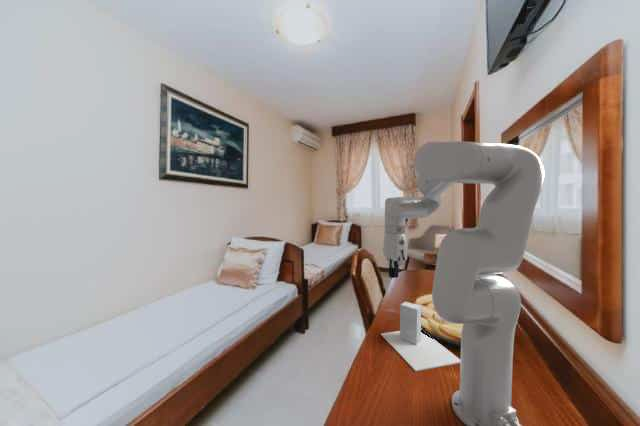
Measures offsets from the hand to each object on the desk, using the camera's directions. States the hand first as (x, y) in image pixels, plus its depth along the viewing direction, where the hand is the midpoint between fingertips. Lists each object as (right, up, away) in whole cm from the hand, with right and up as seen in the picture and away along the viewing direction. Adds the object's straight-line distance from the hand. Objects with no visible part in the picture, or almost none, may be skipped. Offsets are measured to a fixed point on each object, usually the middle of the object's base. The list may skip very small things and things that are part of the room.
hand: (393, 276), depth 95 cm
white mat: (+4, -20, -14) cm, 24 cm away
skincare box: (+3, -19, -10) cm, 22 cm away
